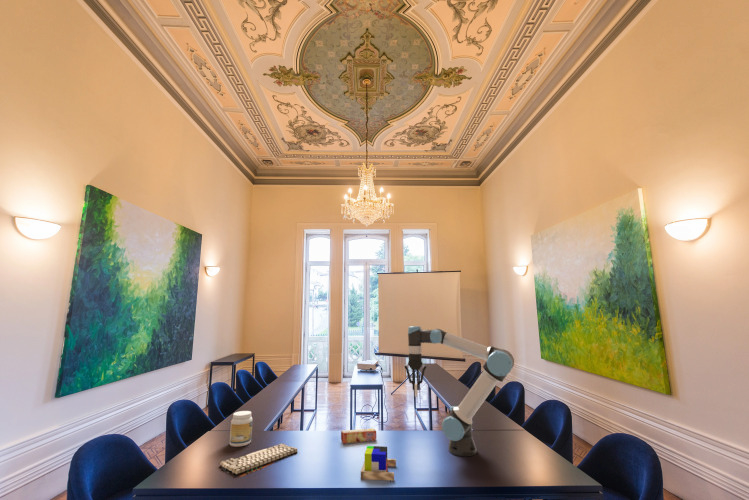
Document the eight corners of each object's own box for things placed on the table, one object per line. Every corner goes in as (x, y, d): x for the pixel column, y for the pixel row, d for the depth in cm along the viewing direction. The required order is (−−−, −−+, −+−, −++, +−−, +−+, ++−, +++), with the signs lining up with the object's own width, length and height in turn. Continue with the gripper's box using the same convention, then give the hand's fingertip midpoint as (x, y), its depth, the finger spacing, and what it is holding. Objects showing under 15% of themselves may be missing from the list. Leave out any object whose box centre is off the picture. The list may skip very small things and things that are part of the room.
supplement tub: (253, 444, 197) (255, 413, 201) (231, 449, 190) (234, 417, 194) (248, 438, 207) (250, 409, 210) (227, 442, 200) (229, 412, 204)
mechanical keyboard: (279, 446, 196) (279, 440, 196) (300, 454, 184) (300, 448, 185) (216, 469, 167) (216, 462, 167) (236, 480, 155) (237, 472, 156)
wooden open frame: (395, 465, 168) (395, 459, 169) (393, 480, 153) (393, 473, 153) (365, 464, 170) (365, 457, 171) (360, 478, 155) (360, 471, 155)
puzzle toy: (385, 478, 156) (385, 454, 158) (364, 477, 157) (364, 453, 159) (387, 468, 165) (387, 446, 167) (367, 467, 166) (367, 445, 168)
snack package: (374, 438, 208) (374, 426, 209) (377, 441, 202) (377, 429, 203) (340, 441, 203) (340, 429, 204) (342, 445, 196) (342, 432, 198)
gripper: (426, 352, 198) (427, 394, 193) (404, 352, 200) (404, 394, 195) (426, 353, 191) (427, 397, 186) (403, 353, 192) (404, 397, 188)
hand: (416, 396), depth 191 cm, fingers closed
